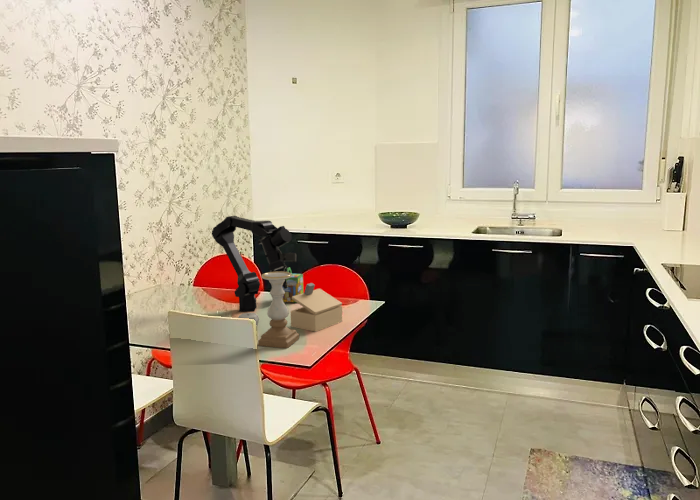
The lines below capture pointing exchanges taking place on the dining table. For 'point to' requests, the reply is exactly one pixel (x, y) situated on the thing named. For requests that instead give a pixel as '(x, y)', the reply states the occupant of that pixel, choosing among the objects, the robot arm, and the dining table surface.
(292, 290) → the chalk box
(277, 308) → the candle holder
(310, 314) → the wooden box
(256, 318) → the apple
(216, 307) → the dining table surface
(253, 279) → the robot arm
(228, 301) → the dining table surface
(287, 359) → the dining table surface
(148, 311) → the dining table surface
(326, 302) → the lid
